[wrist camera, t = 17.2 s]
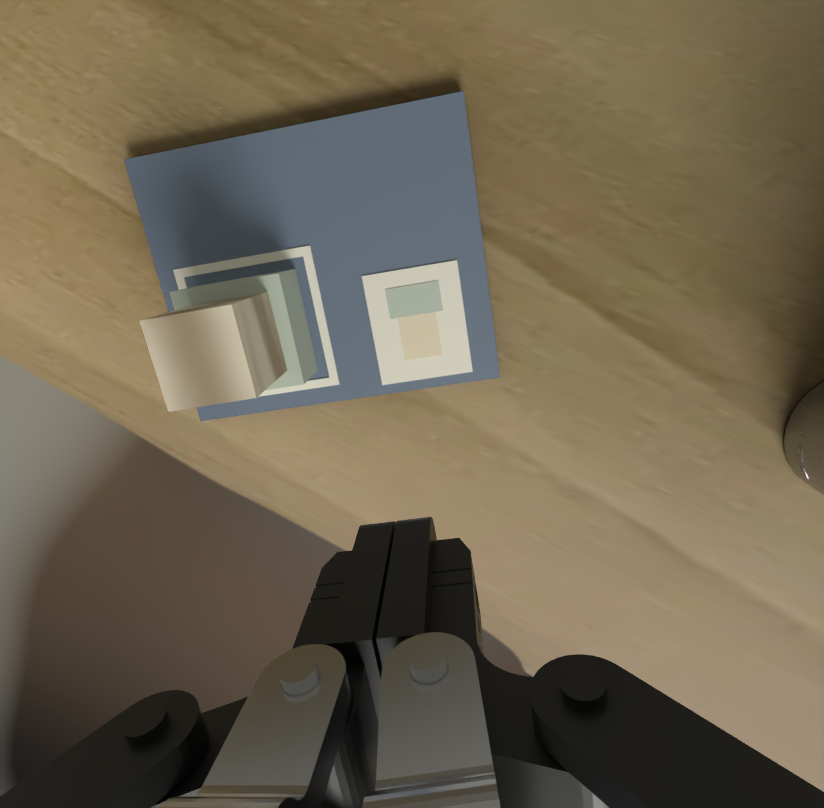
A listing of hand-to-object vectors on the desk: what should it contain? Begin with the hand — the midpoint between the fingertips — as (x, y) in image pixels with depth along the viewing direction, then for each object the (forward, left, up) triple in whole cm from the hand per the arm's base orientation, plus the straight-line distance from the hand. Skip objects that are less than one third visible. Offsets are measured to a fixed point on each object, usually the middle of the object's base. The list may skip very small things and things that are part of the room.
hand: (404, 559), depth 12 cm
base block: (+12, -2, -28) cm, 30 cm away
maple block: (+12, -2, -24) cm, 27 cm away
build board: (+7, -5, -29) cm, 30 cm away
